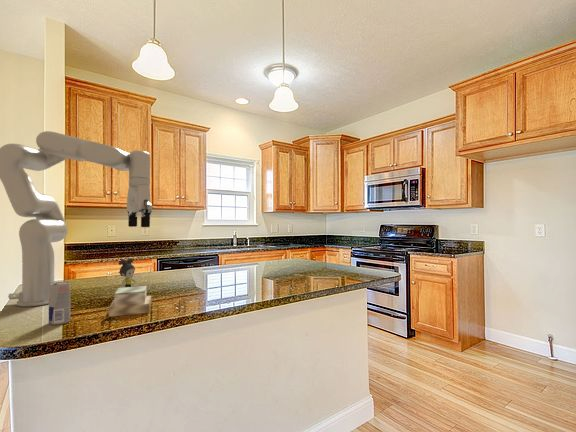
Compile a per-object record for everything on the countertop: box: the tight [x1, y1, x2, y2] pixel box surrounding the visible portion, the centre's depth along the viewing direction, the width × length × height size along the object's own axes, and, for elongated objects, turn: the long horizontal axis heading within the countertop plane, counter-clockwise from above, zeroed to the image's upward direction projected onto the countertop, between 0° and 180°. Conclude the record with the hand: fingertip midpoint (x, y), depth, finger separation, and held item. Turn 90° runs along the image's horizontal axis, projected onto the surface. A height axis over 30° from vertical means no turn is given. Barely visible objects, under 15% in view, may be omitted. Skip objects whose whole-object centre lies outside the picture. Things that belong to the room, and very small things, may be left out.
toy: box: [118, 258, 137, 287], centre depth 129 cm, size 8×5×15 cm, turn 168°
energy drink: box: [48, 281, 71, 326], centre depth 95 cm, size 5×5×12 cm
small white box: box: [108, 285, 152, 317], centre depth 109 cm, size 12×12×7 cm
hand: (138, 226), depth 122 cm, fingers open, 9 cm apart
